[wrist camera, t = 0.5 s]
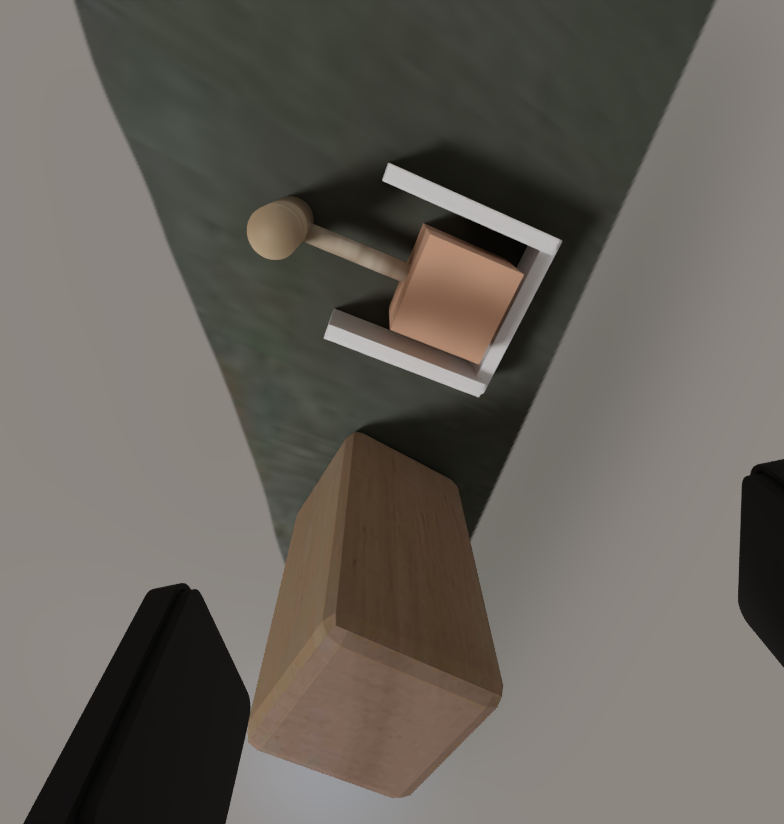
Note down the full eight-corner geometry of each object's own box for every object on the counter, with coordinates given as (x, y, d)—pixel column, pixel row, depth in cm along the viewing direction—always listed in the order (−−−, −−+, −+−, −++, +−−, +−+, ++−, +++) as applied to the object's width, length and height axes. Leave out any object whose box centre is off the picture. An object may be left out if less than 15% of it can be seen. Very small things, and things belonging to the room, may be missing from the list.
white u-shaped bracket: (388, 162, 35) (388, 162, 31) (549, 234, 37) (567, 243, 33) (329, 321, 39) (323, 338, 35) (476, 378, 41) (485, 400, 37)
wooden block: (461, 479, 45) (515, 702, 26) (396, 564, 48) (405, 812, 30) (353, 422, 42) (331, 623, 24) (293, 515, 46) (235, 752, 28)
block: (285, 163, 35) (264, 165, 28) (504, 258, 37) (530, 279, 31) (258, 254, 37) (232, 275, 31) (466, 338, 40) (482, 373, 33)
